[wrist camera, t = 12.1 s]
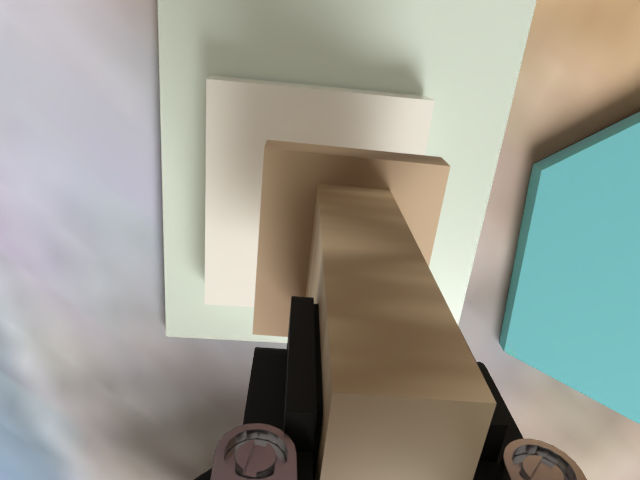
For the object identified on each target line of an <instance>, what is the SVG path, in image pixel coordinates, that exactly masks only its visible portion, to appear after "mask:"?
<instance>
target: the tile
mask: <svg viewBox="0 0 640 480" xmlns="http://www.w3.org/2000/svg"><path fill="white" fill-rule="evenodd" d="M434 103H435V100H433V99H431V98H429V97H427V96H421V95H410V94H400V93H390V92H379V91H369V90H358V89H348V88H337V87H327V86H316V85H306V84H295V83H285V82H275V81H264V80H254V79H243V78H233V77H222V76H210V77H209V78H207V79H206V188H205V304H207V305H224V306H241V307H254V301H255V285H256V270H257V254H258V238H259V222H260V206H261V190H262V174H263V158H264V147H265V144H266V141H267V140H276V141H286V142H296V143H306V144H316V145H326V146H336V147H346V148H356V149H366V150H376V151H386V152H396V153H406V154H416V155H425V152H426V147H427V141H428V136H429V130H430V125H431V119H432V114H433V108H434Z"/></svg>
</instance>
